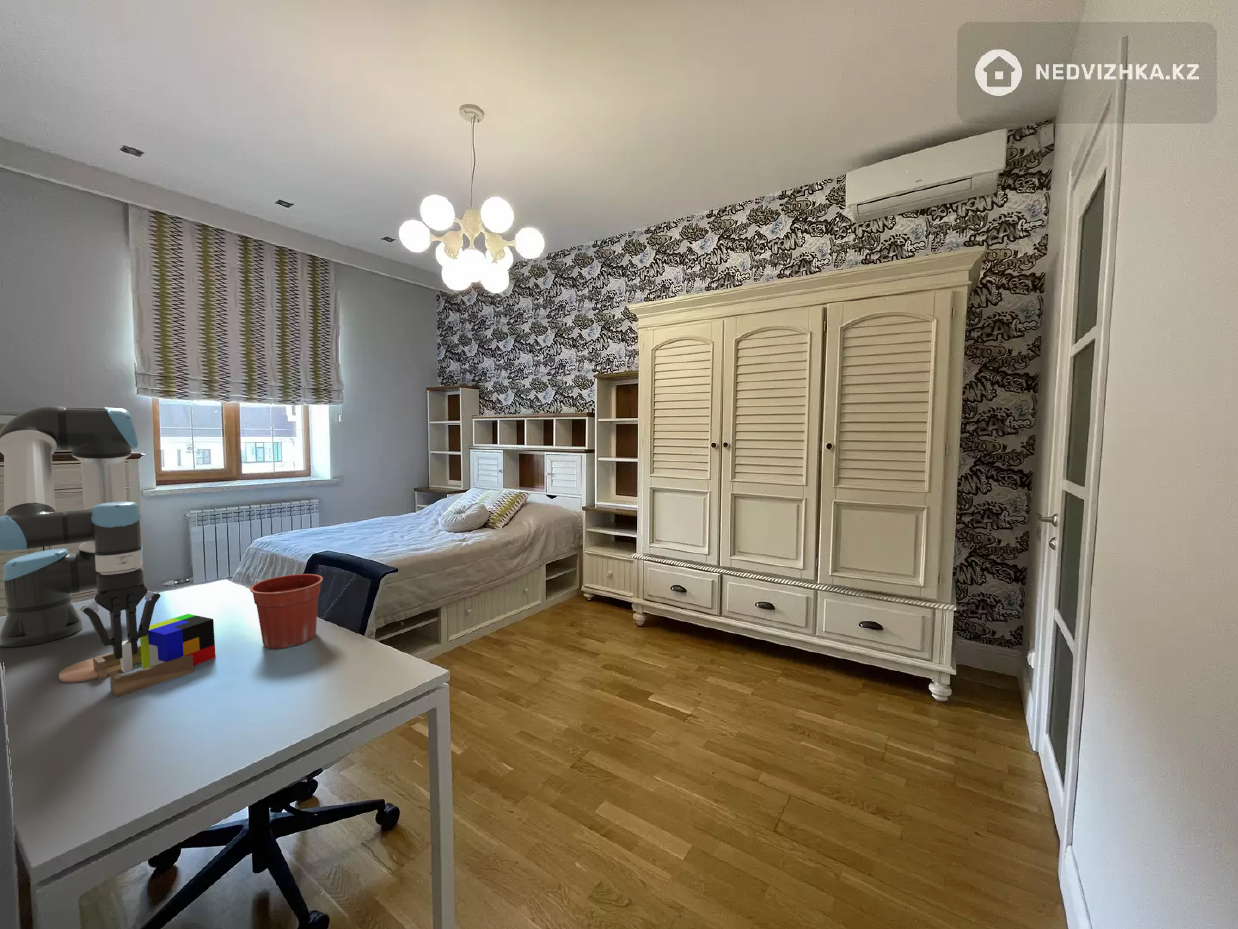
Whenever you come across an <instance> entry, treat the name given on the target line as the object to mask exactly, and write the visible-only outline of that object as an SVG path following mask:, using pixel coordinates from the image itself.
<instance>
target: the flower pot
mask: <svg viewBox="0 0 1238 929" xmlns="http://www.w3.org/2000/svg"><path fill="white" fill-rule="evenodd" d="M323 581H324V580H323V576H321V575H318V574H314V573H313V574H311V573H298V574H296V573H295V574H288V575H287V574H286V575H281V576H275V577H271V578H268V579H264V580H262V581H261V580H260V581H258V582H256V583H254V584H253V585H251V586H250V588H249V591H250V592H251V593H252V596H253V601H254V602H253V603H254V604H255V605H256V610H257V616H258V622H259V626H260V627H259V628H260V629H259V630H260V634H261V640H262V641H261V642H262V645H263V646H264V648H268V649H273V650H278V649H279V650H280V649H287V648H289V647H290V646H300V645H303V644H305V643H307V642H310V641H311V640H313V639H314V638H315V636H316V634H317V622H318V607H319V595H320V593H321V583H322V582H323Z"/></svg>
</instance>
